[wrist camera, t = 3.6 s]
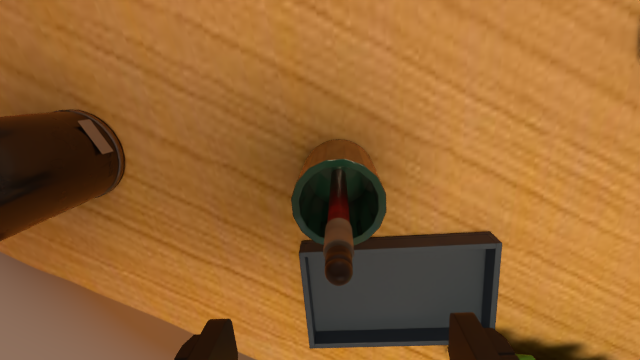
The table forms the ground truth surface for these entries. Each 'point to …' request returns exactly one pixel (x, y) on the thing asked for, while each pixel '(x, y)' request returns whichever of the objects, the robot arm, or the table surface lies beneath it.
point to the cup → (361, 190)
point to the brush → (338, 233)
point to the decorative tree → (525, 357)
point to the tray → (401, 290)
